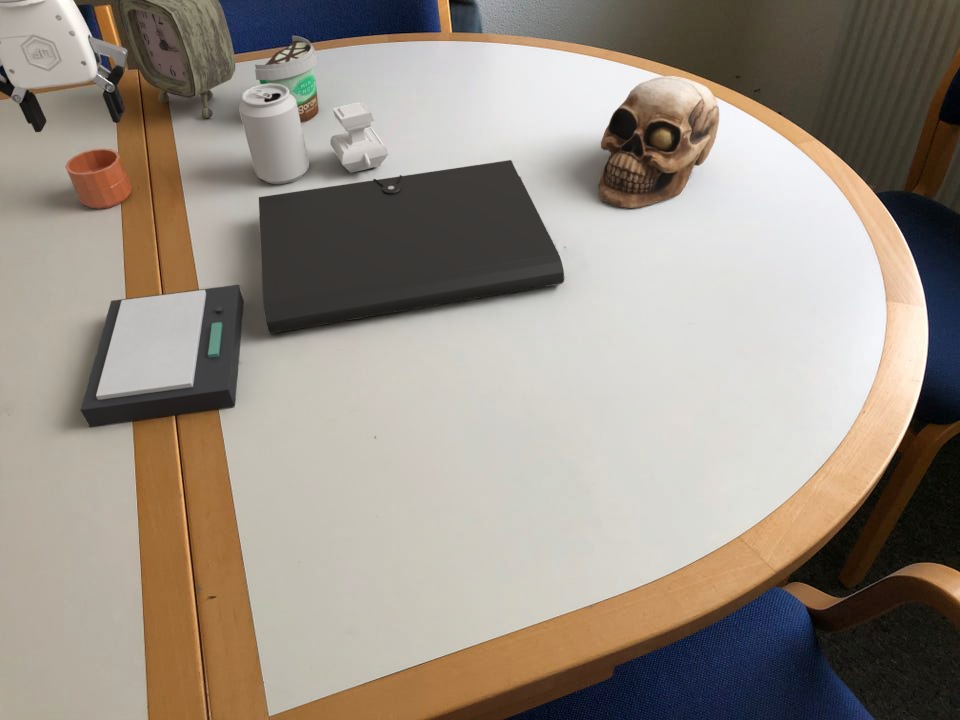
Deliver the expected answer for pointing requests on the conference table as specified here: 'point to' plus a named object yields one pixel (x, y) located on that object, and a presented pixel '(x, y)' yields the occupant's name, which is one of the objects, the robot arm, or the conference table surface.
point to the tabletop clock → (180, 45)
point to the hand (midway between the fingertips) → (80, 122)
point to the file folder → (401, 245)
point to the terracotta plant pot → (99, 178)
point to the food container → (294, 75)
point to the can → (274, 133)
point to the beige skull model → (657, 141)
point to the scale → (166, 356)
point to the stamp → (357, 139)
